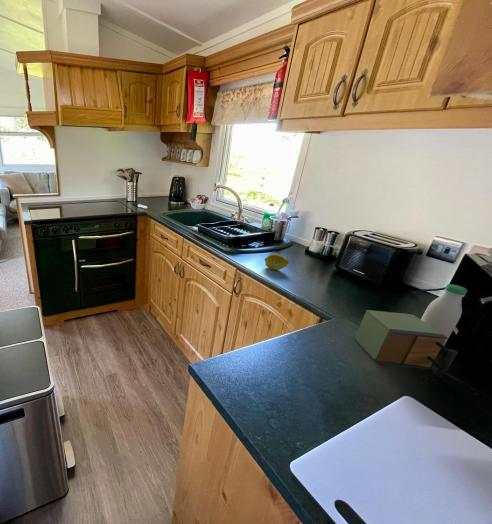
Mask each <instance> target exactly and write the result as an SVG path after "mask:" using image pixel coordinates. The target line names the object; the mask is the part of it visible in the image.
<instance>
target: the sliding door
mask: <svg viewBox="0 0 492 524" xmlns="http://www.w3.org/2000/svg"><path fill="white" fill-rule="evenodd" d="M445 341H446V339H441V338H431V337H422V336H417V338H416V339H415V341H414V343H413V345H412V347H411V349H410V351H409V353H408V354H407V356H406V358H405V360H404V362H403V364H406V365H416V366H425V367H429V368H431V367H432V366H433V365H434V366H436V367H437V368H438V369H437V372H439V373H440V374H443V375H445V374H446V372H447V371H448V369H449V367H450V366H451V364H452V363H453V361H454V359H455V358H456V356H457V355H458V351H457V350H455V349H452V348H451V349H449V348H448V347H446V345H444V346H443V344H444V342H445ZM441 349H442V350H443V351H444V352H445V353H447V354H446V356H445V357H444V359H443V360H442V362H441V364H440V363H439V362H438V361H436V358H437V356H438V354H439V353H440V351H441ZM432 364H433V365H432Z"/></svg>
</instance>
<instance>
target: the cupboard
mask: <svg viewBox="0 0 492 524" xmlns="http://www.w3.org/2000/svg"><path fill="white" fill-rule="evenodd" d="M417 336H422V337H431V338H441V339H447V337H446V336H444V335H443V334H441V333H439V332H438V331H436V330H435V329H434V328H432V327H431V326H429V325H428V324H426V323H425V322H423V321H422V320H421V318H419V317H418V316H416V315H414V314H410V313H400V312H391V311H383V310H382V311H381V310H371V309H366V311H365V313H364V315H363V318H362V320H361V322H360V324H359V327H358V328H357V332H356V334H355V337H354V340H355V341H356V343H358V344H359V346H361V348H363V350H365V352H366V353H367V354H368V355H369V356H370V357H371V358H372V359H373V360H374V361H375V363H377V364H378V365H383V366H384V365H386V366H393V367H401V368H402V367H404V368H412V369H421V370H430V369H431V367H425V366H416V365H406V364H403V362H404V360H405V358H406V356H407V354H408V353H409V351H410V349H411V347H412V345H413V343H414V341H415V339H416V338H417Z"/></svg>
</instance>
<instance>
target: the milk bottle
mask: <svg viewBox="0 0 492 524" xmlns="http://www.w3.org/2000/svg"><path fill="white" fill-rule="evenodd" d="M467 293H468V289H467V288H466V287H463V286H460V285H457V284H453V283H447V284H446V286H445V287H444V289H443V293H442V294H440V296H438V297H437V298H435V299H434V300H432V301H431V302H430V303H429V305H428V306H427V307H426V309H425V311H424V313H423V315H422V316H421V318H420V320H422V321H423V322H425V323H426V324H428V325H429V326H431V327H432V328H434V329H435V330H436V331H438V332H439V333H441V334H443V335H444V336H446V337H447V339H446V341H445V342H444V344H443V346H446V344H447V342H448V340H449V338H450V337H451V335H452V333H453V331H454V330H455V329H456V326H457V325H458V323H459V321H460V319H461V317H462V314H463V307H462V300H463V298H464V297H465V295H466V294H467Z"/></svg>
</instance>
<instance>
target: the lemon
mask: <svg viewBox="0 0 492 524" xmlns="http://www.w3.org/2000/svg"><path fill="white" fill-rule="evenodd" d="M264 262H265V266H266V267H267V268H268V269H270V270H272V269H273V270H272V271H279V270H282V269H284V268H285V267H288V265H289V263H290V262H289V260H288V259H286V257H284V256H283V255H281V254H279V253H270V254H269V255H267V256H266V257H265V258H264Z"/></svg>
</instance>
